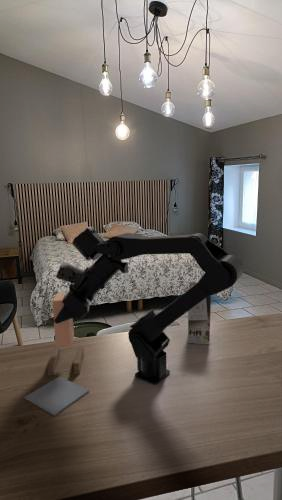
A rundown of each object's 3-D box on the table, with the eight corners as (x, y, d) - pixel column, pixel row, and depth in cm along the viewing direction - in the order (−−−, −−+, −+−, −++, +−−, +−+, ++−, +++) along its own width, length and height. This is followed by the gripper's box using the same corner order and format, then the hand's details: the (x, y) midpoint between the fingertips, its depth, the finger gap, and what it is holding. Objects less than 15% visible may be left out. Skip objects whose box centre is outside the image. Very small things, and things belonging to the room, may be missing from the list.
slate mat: (88, 391, 79) (88, 390, 79) (54, 416, 71) (54, 414, 71) (59, 377, 85) (59, 376, 85) (24, 398, 77) (24, 397, 77)
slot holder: (83, 356, 95) (83, 345, 95) (79, 374, 87) (78, 363, 86) (55, 357, 95) (54, 347, 94) (48, 375, 86) (47, 364, 86)
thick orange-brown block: (73, 335, 92) (71, 292, 90) (70, 346, 86) (67, 300, 84) (60, 336, 92) (57, 293, 90) (55, 347, 86) (52, 301, 84)
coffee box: (209, 345, 100) (211, 291, 97) (187, 343, 102) (187, 290, 98) (210, 331, 109) (211, 282, 106) (189, 330, 110) (189, 281, 107)
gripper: (80, 244, 94) (42, 285, 96) (69, 260, 76) (22, 310, 77) (110, 272, 96) (72, 311, 98) (107, 294, 77) (60, 341, 79)
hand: (57, 317), depth 88 cm, fingers closed on thick orange-brown block, 6 cm apart
